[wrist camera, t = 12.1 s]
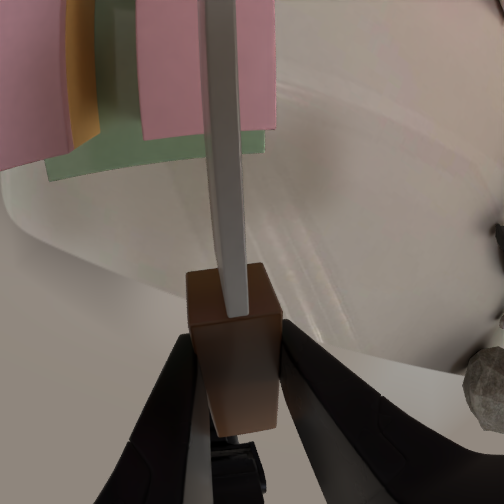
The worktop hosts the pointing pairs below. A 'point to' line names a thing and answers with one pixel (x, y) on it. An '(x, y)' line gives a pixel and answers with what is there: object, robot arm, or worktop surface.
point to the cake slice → (46, 79)
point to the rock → (486, 388)
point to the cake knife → (231, 255)
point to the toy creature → (502, 4)
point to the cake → (188, 66)
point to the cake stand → (126, 107)
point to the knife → (500, 236)
